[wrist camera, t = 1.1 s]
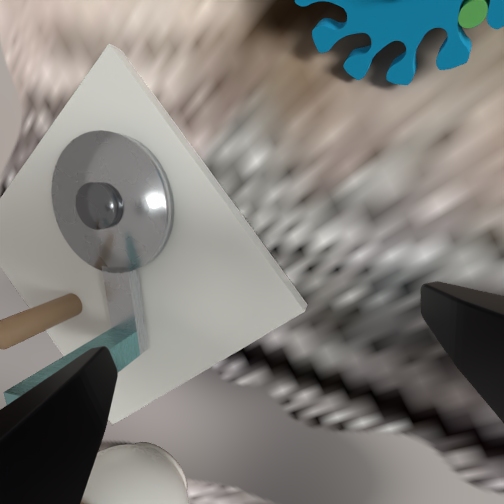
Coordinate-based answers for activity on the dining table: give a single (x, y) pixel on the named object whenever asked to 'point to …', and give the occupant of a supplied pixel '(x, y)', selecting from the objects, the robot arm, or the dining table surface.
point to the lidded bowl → (136, 477)
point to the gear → (405, 30)
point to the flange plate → (110, 233)
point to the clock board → (156, 272)
